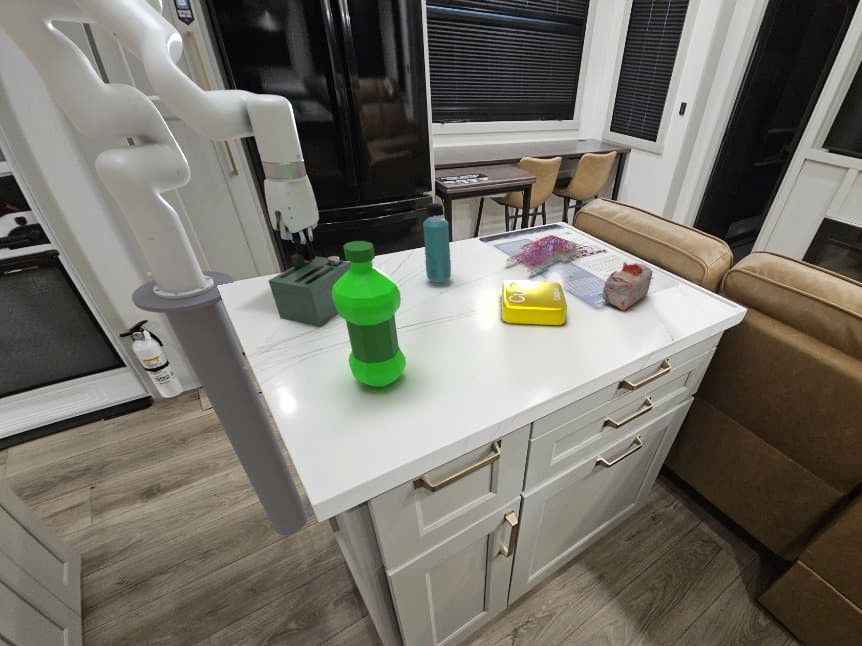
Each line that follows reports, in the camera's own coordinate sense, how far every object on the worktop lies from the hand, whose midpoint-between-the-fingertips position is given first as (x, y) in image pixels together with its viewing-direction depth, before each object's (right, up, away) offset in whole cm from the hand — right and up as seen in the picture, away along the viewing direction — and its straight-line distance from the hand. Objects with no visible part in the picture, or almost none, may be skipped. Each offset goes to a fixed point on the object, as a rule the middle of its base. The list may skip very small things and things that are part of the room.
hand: (307, 258), depth 94 cm
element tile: (+51, -10, +9) cm, 53 cm away
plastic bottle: (+22, -28, -17) cm, 39 cm away
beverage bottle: (+27, -1, +17) cm, 32 cm away
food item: (+76, -6, +16) cm, 78 cm away
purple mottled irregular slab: (+56, +10, +35) cm, 67 cm away
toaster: (+2, -11, +3) cm, 11 cm away
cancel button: (+6, -1, +2) cm, 6 cm away
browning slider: (-1, -2, -2) cm, 3 cm away
